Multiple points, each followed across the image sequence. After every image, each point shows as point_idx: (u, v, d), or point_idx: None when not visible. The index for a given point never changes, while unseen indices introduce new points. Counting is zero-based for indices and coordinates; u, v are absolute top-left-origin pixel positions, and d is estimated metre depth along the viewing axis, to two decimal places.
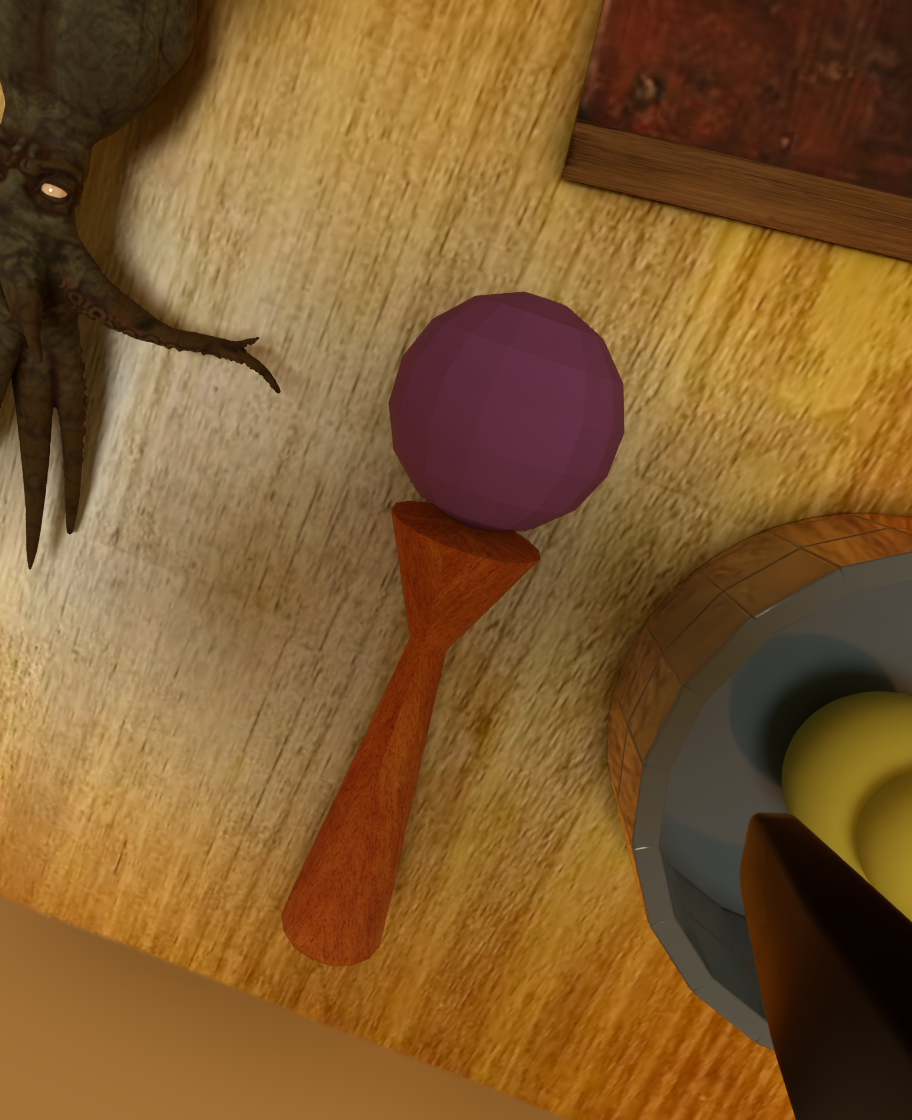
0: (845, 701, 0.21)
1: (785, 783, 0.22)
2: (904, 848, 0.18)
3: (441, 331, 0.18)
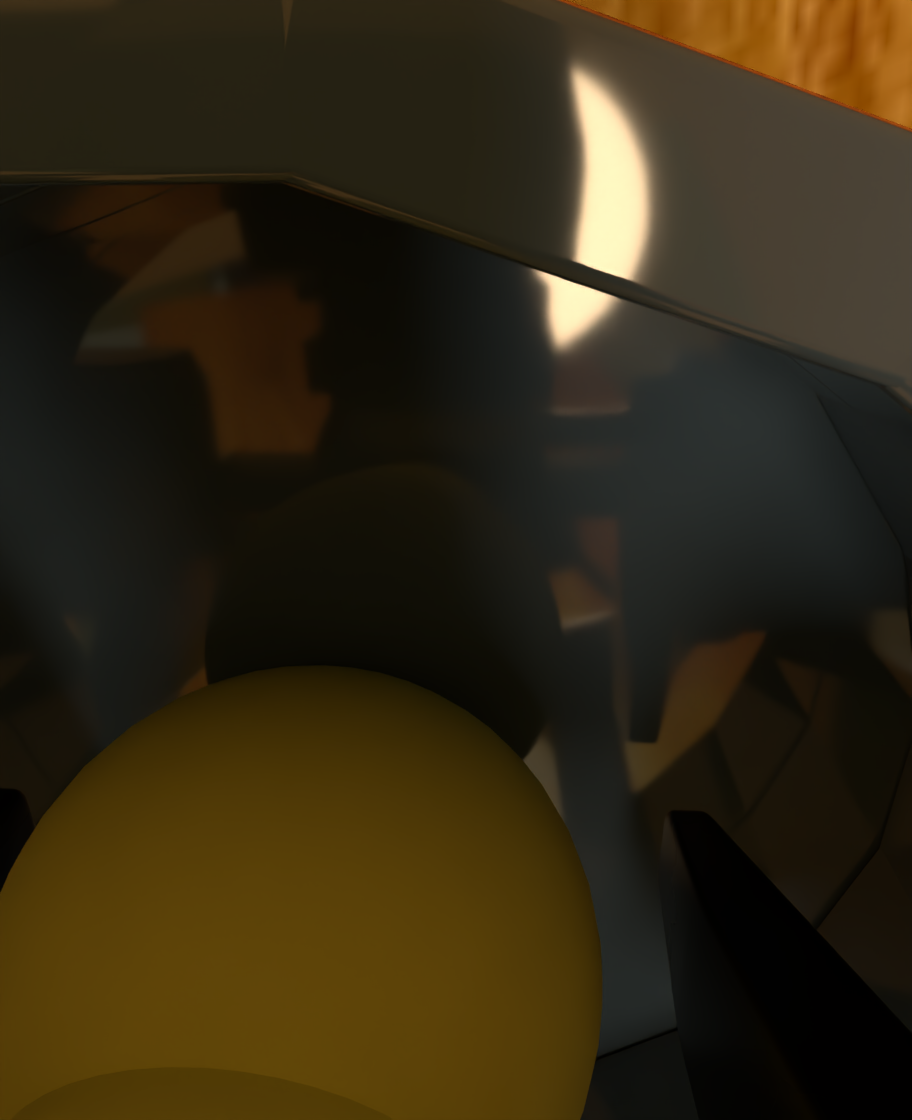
0: None
1: None
2: None
3: None
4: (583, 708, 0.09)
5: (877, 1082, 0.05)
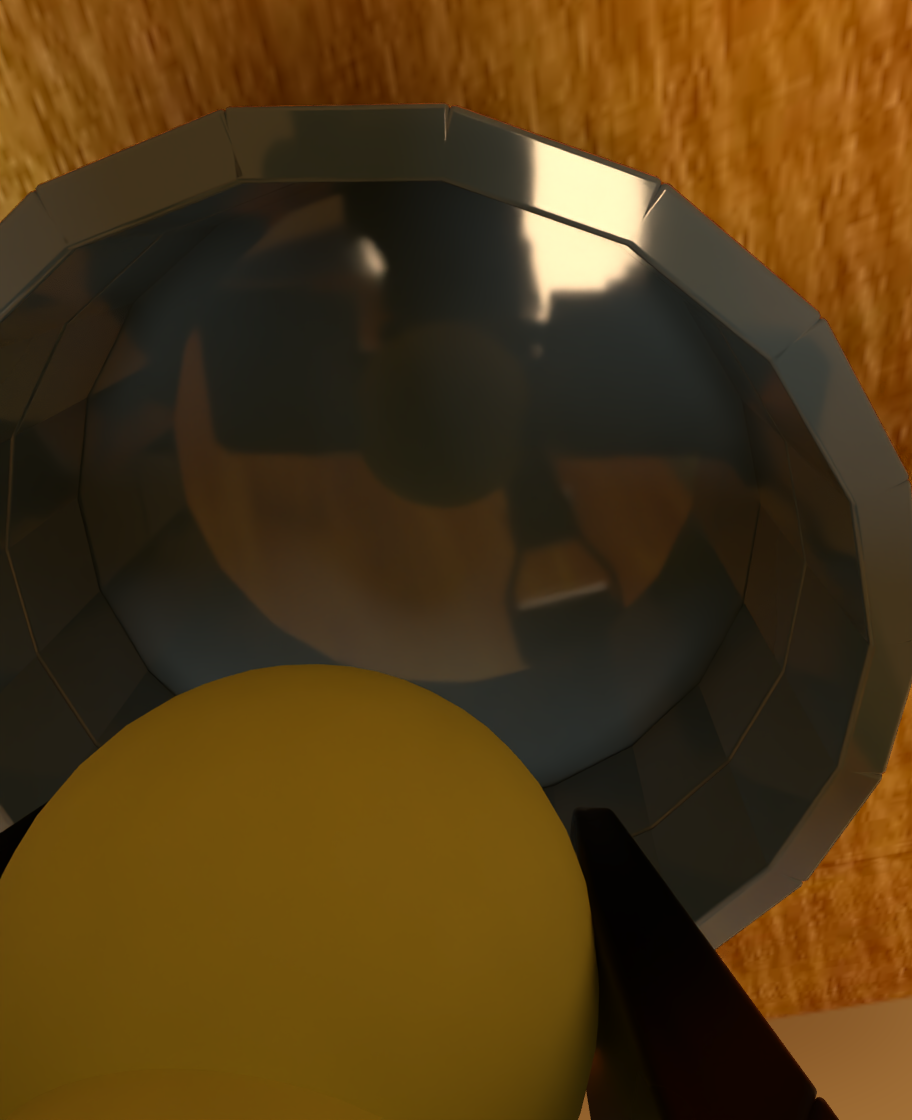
0: None
1: None
2: None
3: None
4: (554, 506, 0.15)
5: (725, 1075, 0.05)
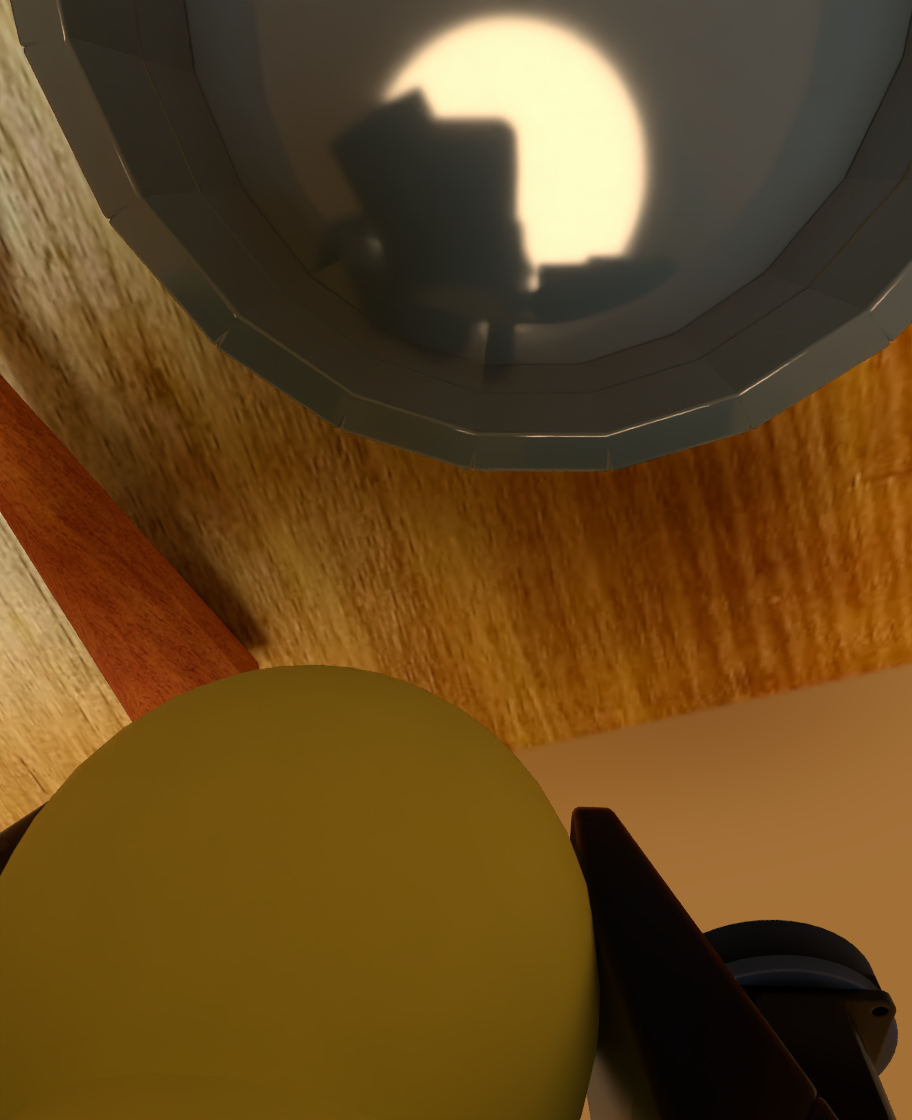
0: None
1: None
2: None
3: None
4: None
5: (726, 1075, 0.05)
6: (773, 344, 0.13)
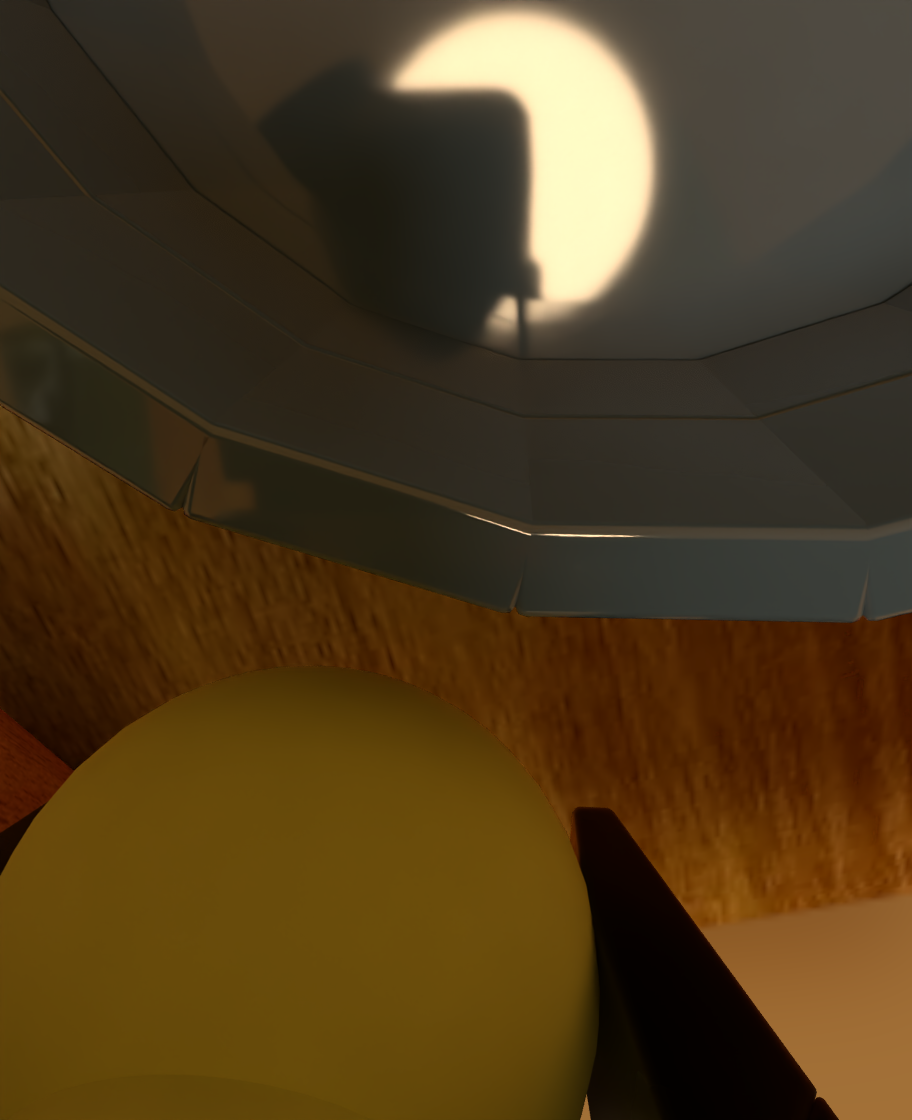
0: None
1: None
2: None
3: None
4: None
5: (725, 1074, 0.05)
6: None
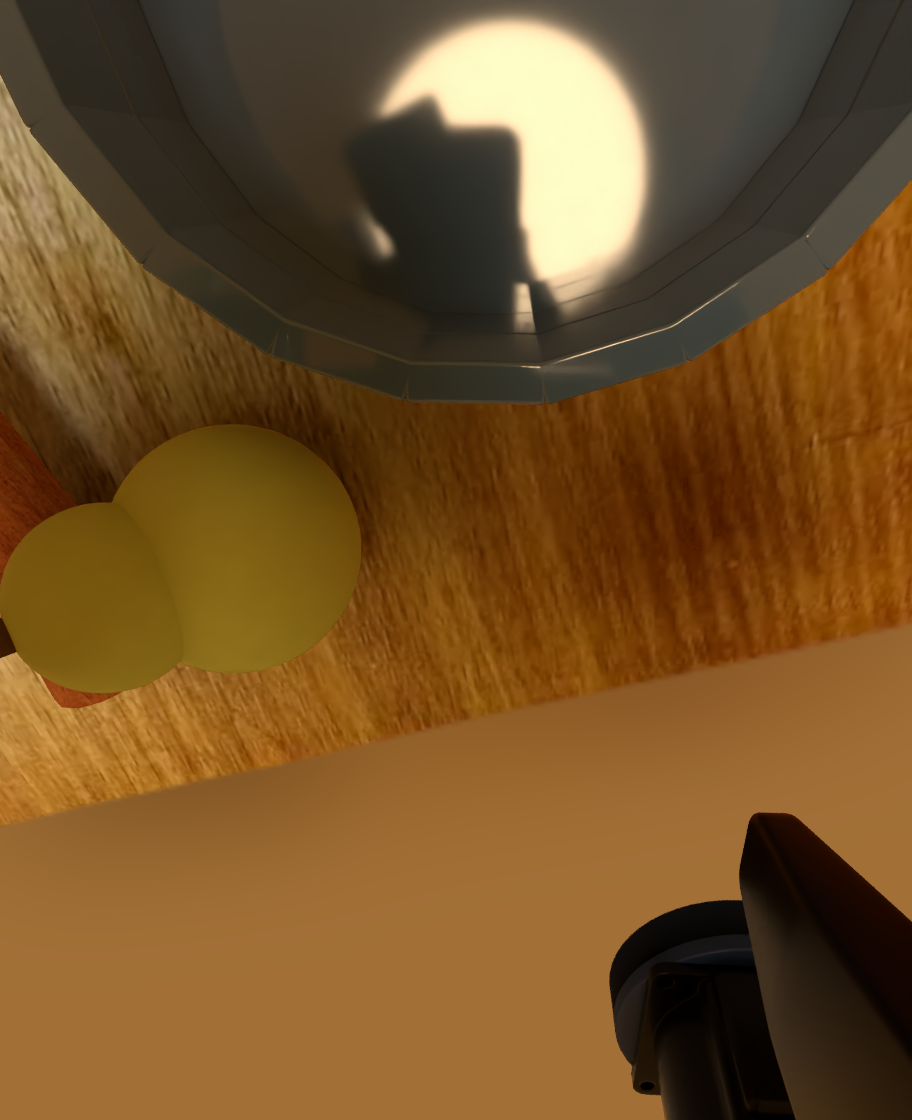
0: None
1: None
2: None
3: None
4: None
5: None
6: (713, 277, 0.12)
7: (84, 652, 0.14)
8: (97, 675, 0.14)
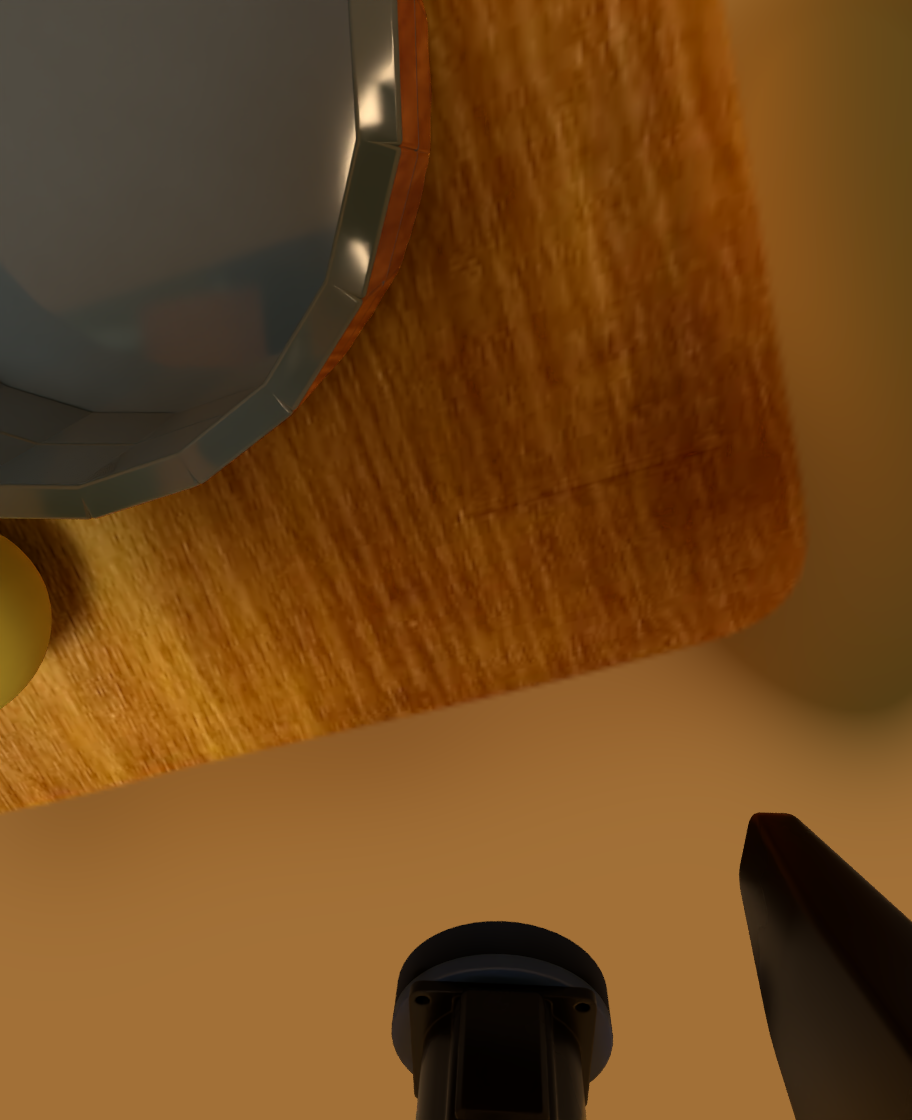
0: None
1: None
2: None
3: None
4: (199, 38, 0.15)
5: None
6: (230, 408, 0.14)
7: None
8: None
